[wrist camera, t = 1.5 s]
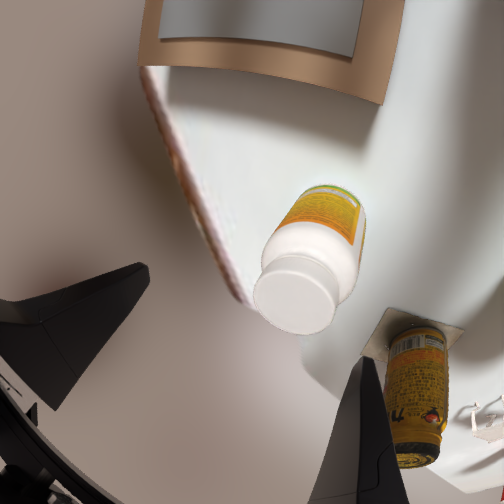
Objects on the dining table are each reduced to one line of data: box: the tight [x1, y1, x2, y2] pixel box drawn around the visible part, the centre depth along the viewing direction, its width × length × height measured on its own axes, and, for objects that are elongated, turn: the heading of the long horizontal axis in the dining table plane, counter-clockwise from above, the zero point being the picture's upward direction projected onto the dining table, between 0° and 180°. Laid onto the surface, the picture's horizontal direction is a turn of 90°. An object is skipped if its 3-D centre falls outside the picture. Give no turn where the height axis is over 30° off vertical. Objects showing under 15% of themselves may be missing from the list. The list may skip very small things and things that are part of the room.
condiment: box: [360, 308, 465, 469], centre depth 18 cm, size 7×8×12 cm
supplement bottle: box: [253, 184, 366, 335], centre depth 16 cm, size 5×5×10 cm
